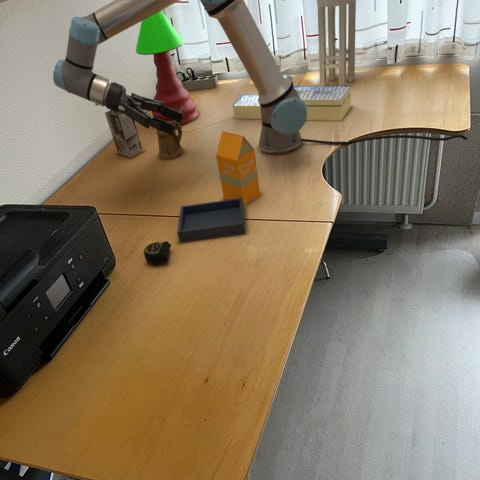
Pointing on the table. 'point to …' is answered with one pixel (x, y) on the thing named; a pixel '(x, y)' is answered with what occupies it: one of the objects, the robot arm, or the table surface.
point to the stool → (330, 2)
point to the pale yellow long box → (315, 98)
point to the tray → (211, 220)
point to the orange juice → (237, 168)
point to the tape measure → (157, 252)
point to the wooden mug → (170, 141)
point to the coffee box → (124, 133)
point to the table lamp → (165, 65)
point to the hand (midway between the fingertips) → (178, 124)
